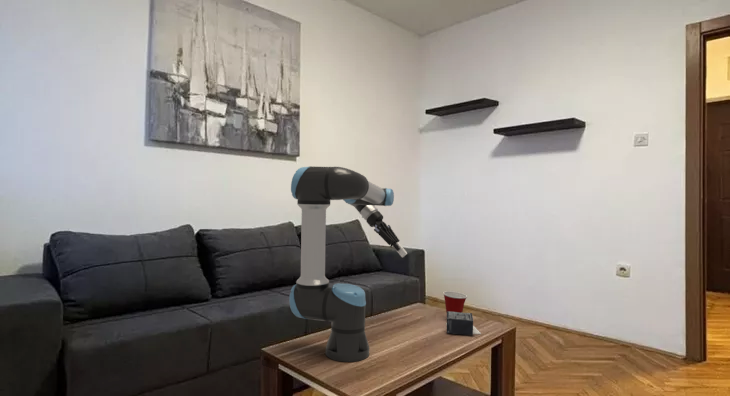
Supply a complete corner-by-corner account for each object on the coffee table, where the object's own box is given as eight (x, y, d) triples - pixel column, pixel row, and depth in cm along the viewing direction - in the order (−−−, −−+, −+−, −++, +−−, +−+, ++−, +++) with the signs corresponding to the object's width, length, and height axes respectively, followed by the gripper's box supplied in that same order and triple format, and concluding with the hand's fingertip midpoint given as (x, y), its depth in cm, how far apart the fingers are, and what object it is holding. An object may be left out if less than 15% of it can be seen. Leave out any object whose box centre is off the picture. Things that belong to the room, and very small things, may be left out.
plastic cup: (465, 324, 180) (466, 297, 180) (440, 322, 184) (441, 294, 184) (467, 318, 191) (468, 292, 191) (443, 315, 194) (444, 289, 194)
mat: (452, 333, 168) (452, 333, 168) (445, 323, 181) (445, 323, 181) (481, 334, 168) (481, 333, 168) (471, 324, 181) (471, 323, 181)
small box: (446, 334, 167) (473, 336, 165) (446, 318, 167) (473, 320, 165) (446, 325, 177) (471, 327, 175) (446, 310, 177) (472, 312, 175)
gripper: (373, 220, 197) (404, 259, 189) (360, 221, 186) (392, 262, 178) (383, 210, 195) (416, 248, 187) (370, 210, 183) (404, 251, 175)
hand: (404, 255), depth 182 cm, fingers closed
